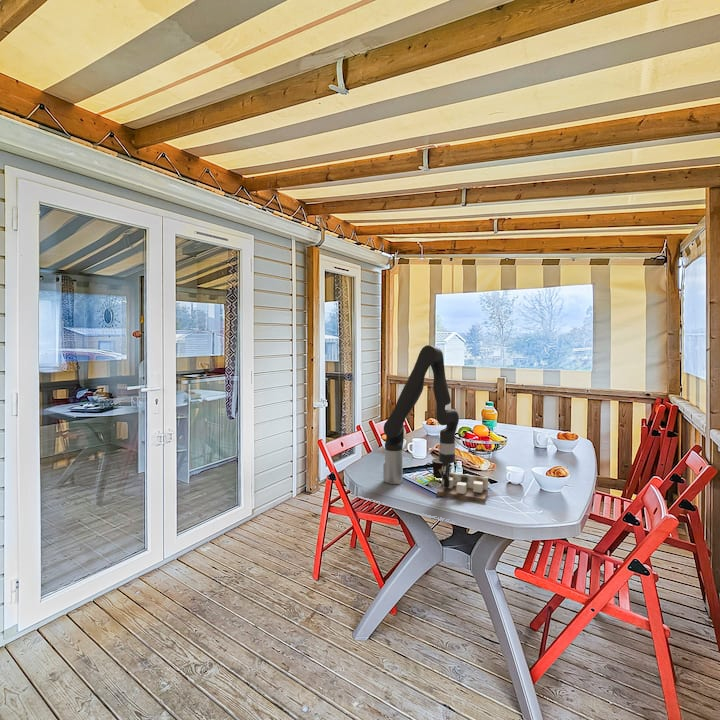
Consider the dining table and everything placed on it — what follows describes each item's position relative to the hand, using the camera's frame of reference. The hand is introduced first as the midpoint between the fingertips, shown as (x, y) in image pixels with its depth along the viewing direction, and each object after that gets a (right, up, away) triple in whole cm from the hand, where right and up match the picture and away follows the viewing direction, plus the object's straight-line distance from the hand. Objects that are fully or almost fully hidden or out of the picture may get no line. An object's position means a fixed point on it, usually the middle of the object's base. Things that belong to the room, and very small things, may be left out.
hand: (446, 487), depth 198 cm
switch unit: (+8, -4, 0) cm, 8 cm away
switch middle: (+6, -1, -3) cm, 7 cm away
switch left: (+2, -1, +4) cm, 4 cm away
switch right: (+15, -1, -2) cm, 15 cm away
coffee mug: (0, -3, +22) cm, 22 cm away
